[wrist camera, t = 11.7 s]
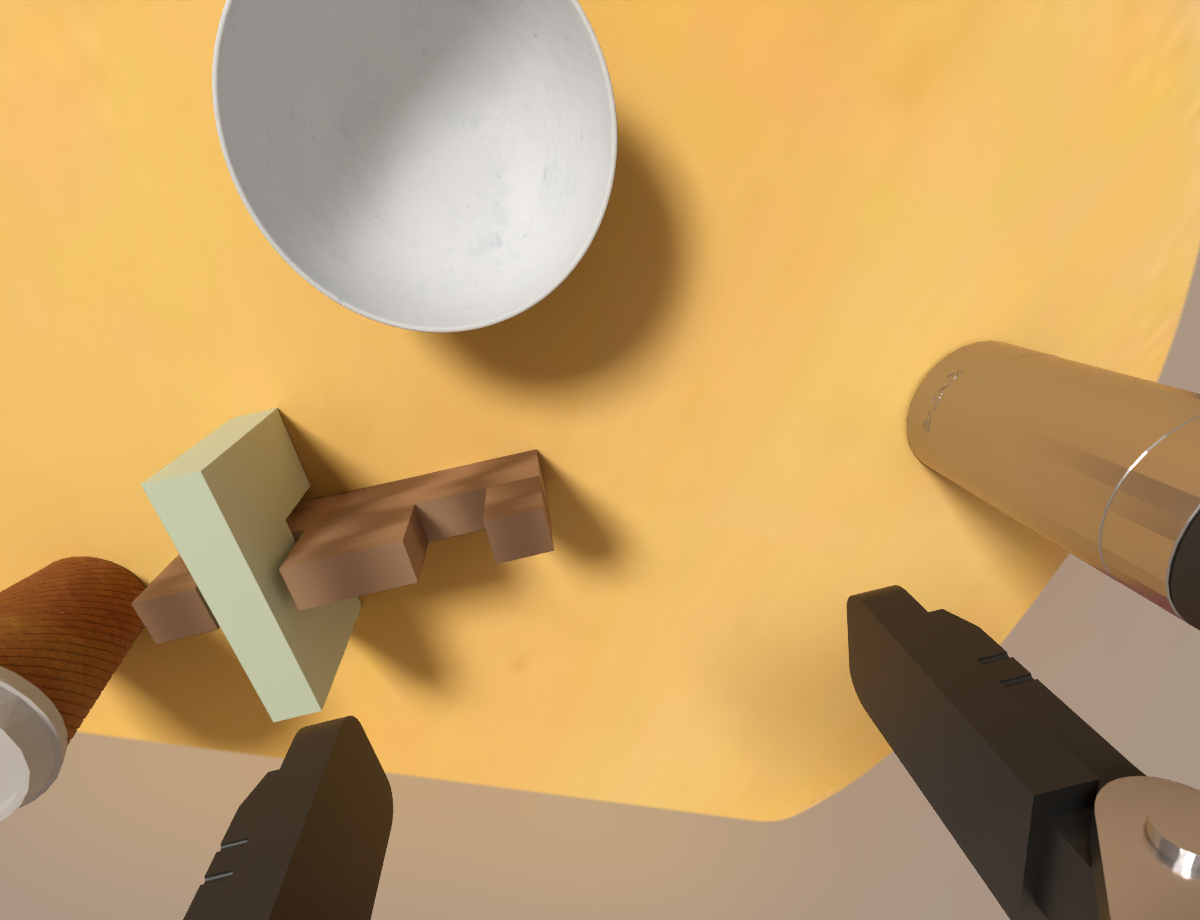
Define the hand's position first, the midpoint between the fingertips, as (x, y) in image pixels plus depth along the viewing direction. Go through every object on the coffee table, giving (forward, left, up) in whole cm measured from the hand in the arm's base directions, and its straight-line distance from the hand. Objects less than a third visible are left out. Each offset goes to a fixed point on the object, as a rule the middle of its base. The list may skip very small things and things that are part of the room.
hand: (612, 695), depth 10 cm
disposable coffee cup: (+21, +23, -27) cm, 41 cm away
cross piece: (+11, +14, -27) cm, 32 cm away
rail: (+6, +12, -27) cm, 30 cm away
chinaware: (+7, -8, -27) cm, 29 cm away
